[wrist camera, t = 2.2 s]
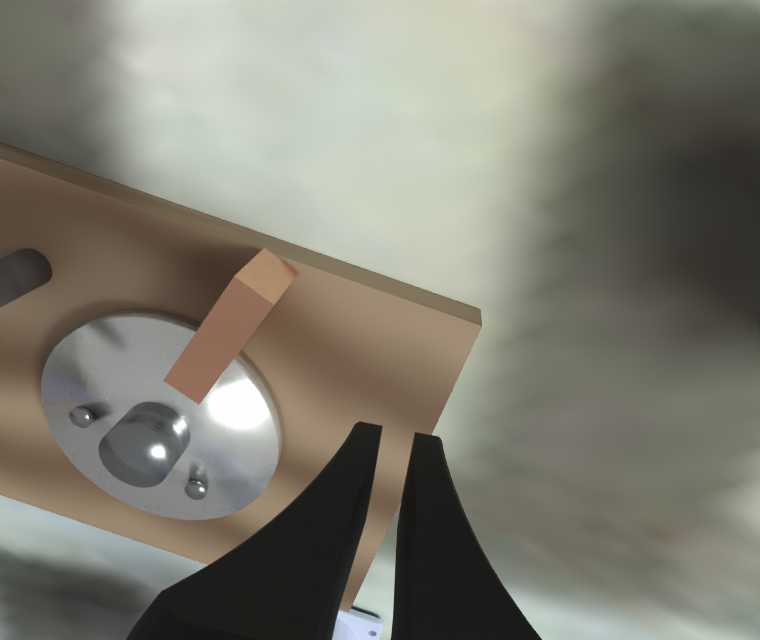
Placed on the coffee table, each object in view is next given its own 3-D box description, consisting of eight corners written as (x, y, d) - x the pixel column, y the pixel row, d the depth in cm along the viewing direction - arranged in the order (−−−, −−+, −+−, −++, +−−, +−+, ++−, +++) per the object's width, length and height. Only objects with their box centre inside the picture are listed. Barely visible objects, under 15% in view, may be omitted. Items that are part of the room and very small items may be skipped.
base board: (353, 588, 30) (335, 678, 26) (-28, 459, 30) (-113, 528, 25) (480, 309, 21) (485, 374, 17) (-56, 123, 21) (-193, 139, 17)
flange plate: (213, 537, 27) (186, 588, 25) (25, 420, 26) (-26, 461, 23) (394, 344, 21) (384, 385, 18) (158, 167, 19) (109, 184, 16)
